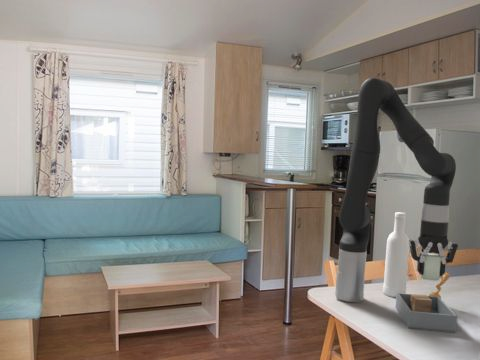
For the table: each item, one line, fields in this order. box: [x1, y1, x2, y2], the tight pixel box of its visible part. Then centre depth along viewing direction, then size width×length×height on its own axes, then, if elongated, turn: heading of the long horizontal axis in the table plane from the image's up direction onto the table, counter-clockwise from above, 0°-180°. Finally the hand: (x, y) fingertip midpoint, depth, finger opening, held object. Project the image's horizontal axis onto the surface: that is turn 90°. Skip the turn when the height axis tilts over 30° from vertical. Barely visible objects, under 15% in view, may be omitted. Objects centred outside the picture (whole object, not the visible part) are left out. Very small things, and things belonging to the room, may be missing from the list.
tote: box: [395, 293, 458, 334], centre depth 138 cm, size 13×17×5 cm
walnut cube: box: [410, 293, 432, 313], centre depth 142 cm, size 5×5×5 cm
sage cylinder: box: [421, 253, 441, 282], centre depth 134 cm, size 5×5×7 cm
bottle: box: [382, 211, 410, 299], centre depth 160 cm, size 8×8×30 cm
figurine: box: [428, 272, 451, 300], centre depth 152 cm, size 8×6×12 cm
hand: (430, 274), depth 134 cm, fingers closed on sage cylinder, 5 cm apart
